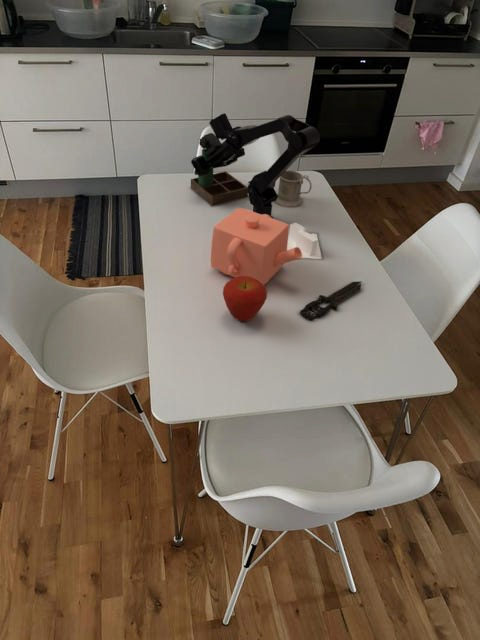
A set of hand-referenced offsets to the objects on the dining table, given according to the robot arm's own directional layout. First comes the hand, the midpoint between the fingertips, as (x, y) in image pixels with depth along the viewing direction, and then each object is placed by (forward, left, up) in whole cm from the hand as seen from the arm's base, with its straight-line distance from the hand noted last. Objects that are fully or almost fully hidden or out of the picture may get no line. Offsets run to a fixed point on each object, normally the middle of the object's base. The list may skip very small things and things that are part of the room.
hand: (203, 170), depth 184 cm
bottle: (-1, 0, -7) cm, 7 cm away
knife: (-75, +1, -8) cm, 75 cm away
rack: (-5, -4, -7) cm, 10 cm away
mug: (-24, -24, -8) cm, 35 cm away
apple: (-68, +28, -8) cm, 74 cm away
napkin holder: (-48, -9, -8) cm, 50 cm away
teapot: (-54, +13, -8) cm, 56 cm away
